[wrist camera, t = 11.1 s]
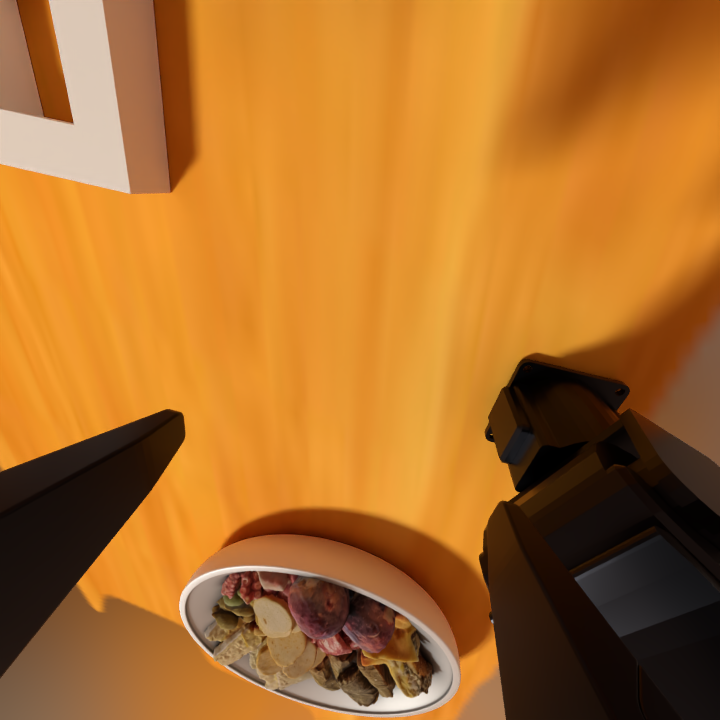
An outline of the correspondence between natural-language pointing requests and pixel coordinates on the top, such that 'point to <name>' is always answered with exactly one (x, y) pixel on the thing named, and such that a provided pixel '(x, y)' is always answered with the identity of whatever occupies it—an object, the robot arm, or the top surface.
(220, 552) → the bowl
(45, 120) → the pin socket block
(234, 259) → the top surface
